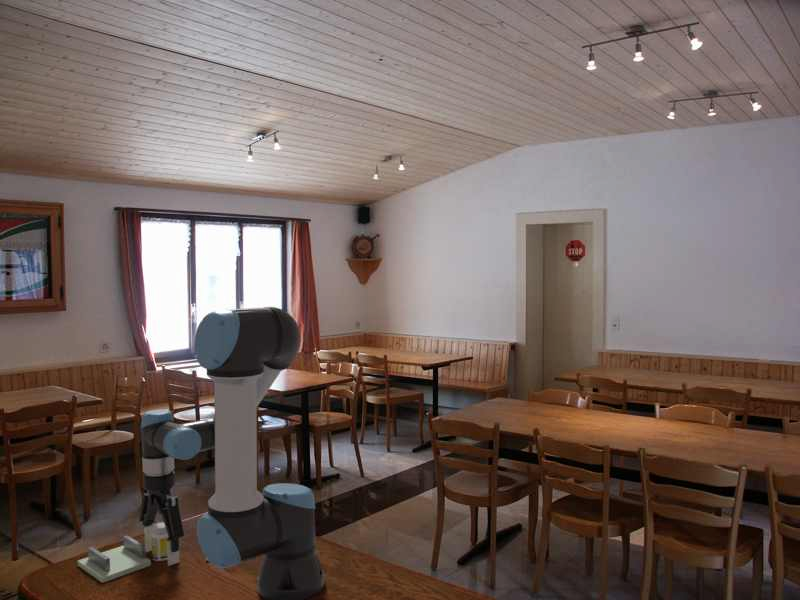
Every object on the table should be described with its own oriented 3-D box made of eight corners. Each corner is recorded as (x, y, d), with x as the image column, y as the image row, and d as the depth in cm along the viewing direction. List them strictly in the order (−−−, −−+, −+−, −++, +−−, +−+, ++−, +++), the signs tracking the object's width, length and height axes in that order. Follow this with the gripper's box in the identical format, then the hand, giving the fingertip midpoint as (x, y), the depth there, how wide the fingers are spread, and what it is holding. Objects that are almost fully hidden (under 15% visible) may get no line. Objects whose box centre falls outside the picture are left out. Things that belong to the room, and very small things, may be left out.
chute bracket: (145, 557, 166) (145, 545, 166) (105, 571, 158) (105, 559, 158) (127, 546, 172) (127, 535, 172) (88, 559, 165) (87, 547, 165)
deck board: (150, 565, 164) (150, 560, 164) (102, 582, 155) (102, 577, 155) (125, 549, 173) (124, 545, 173) (77, 565, 165) (77, 560, 165)
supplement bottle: (174, 553, 171) (173, 521, 170) (168, 561, 166) (167, 528, 166) (155, 553, 171) (154, 521, 170) (149, 562, 166) (148, 529, 165)
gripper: (197, 477, 162) (199, 565, 163) (150, 459, 178) (153, 539, 179) (168, 485, 156) (171, 576, 158) (123, 466, 172) (126, 548, 173)
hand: (161, 556), depth 168 cm, fingers open, 11 cm apart
